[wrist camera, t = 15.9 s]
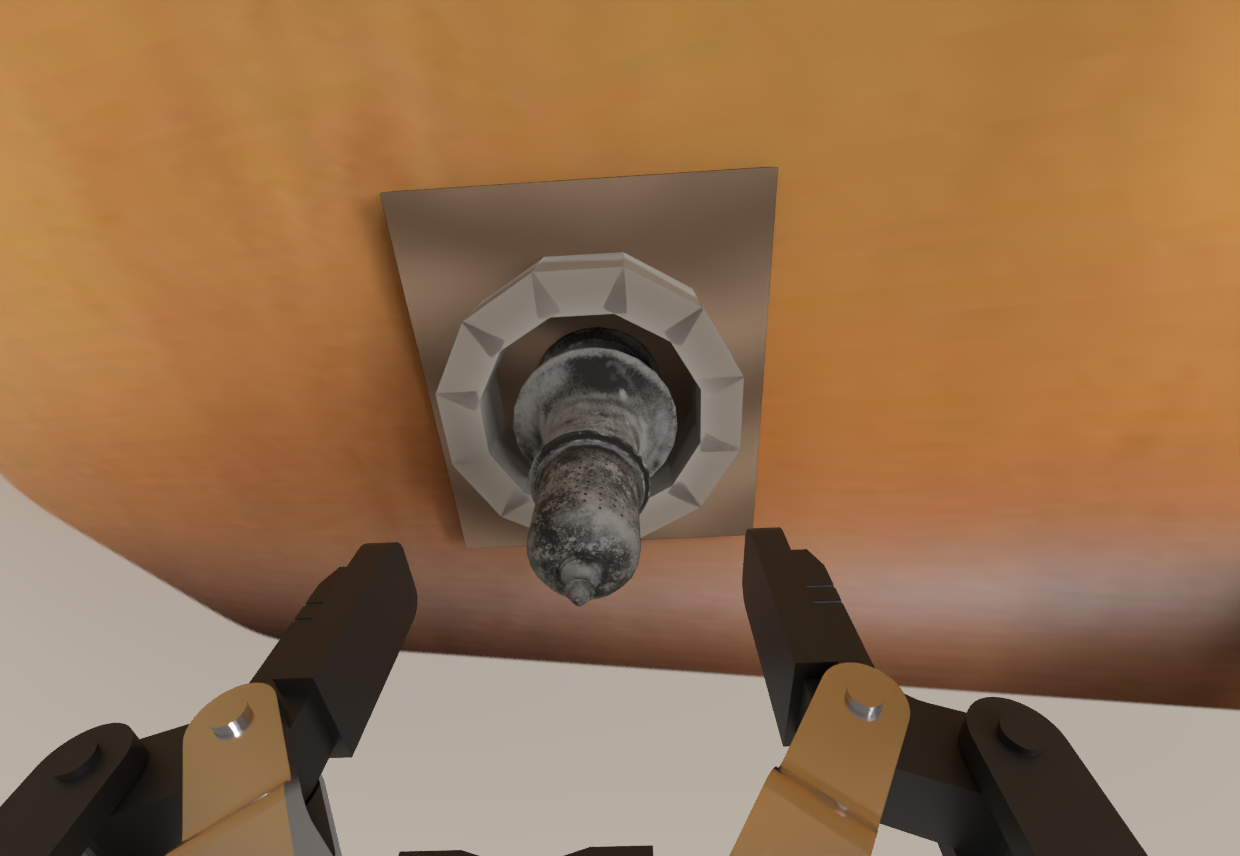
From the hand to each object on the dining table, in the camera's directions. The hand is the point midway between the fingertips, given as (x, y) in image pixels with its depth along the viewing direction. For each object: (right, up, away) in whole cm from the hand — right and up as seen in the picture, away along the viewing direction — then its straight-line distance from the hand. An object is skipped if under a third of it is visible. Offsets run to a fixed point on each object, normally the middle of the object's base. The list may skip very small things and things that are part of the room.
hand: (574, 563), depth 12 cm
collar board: (0, +5, +11) cm, 12 cm away
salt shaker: (0, +5, +10) cm, 11 cm away
